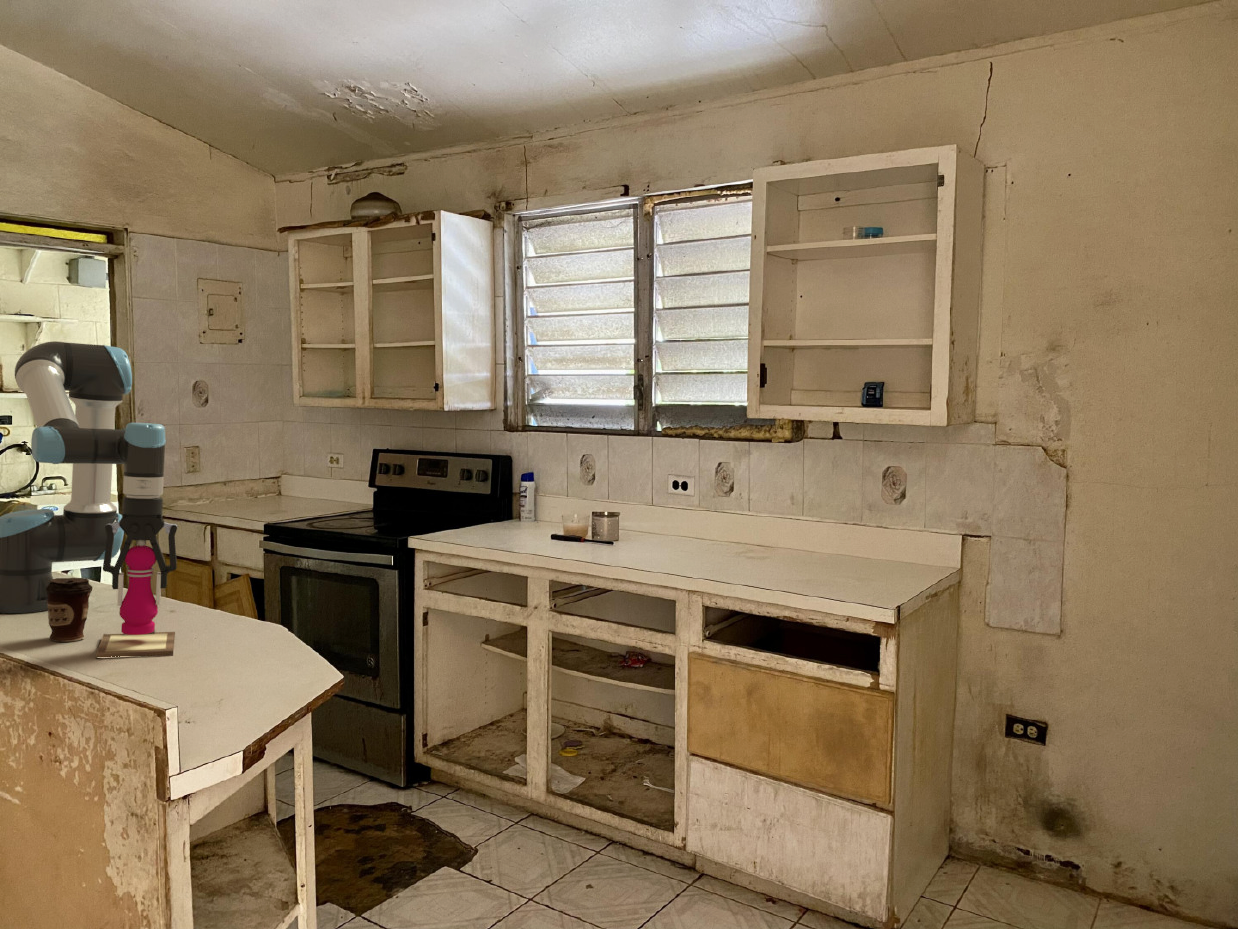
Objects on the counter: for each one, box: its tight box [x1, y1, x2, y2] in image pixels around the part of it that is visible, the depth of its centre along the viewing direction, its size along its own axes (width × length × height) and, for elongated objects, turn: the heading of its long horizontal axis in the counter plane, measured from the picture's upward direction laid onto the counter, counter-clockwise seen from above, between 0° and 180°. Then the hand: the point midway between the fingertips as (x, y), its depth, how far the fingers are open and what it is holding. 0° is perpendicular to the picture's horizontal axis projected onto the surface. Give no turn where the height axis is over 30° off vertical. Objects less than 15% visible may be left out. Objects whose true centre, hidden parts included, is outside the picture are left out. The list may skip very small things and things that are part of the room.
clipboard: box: [95, 629, 176, 658], centre depth 194 cm, size 16×14×2 cm
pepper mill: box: [119, 539, 159, 635], centre depth 193 cm, size 7×7×20 cm
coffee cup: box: [46, 577, 93, 642], centre depth 196 cm, size 9×8×13 cm
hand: (139, 603), depth 194 cm, fingers closed on pepper mill, 6 cm apart
